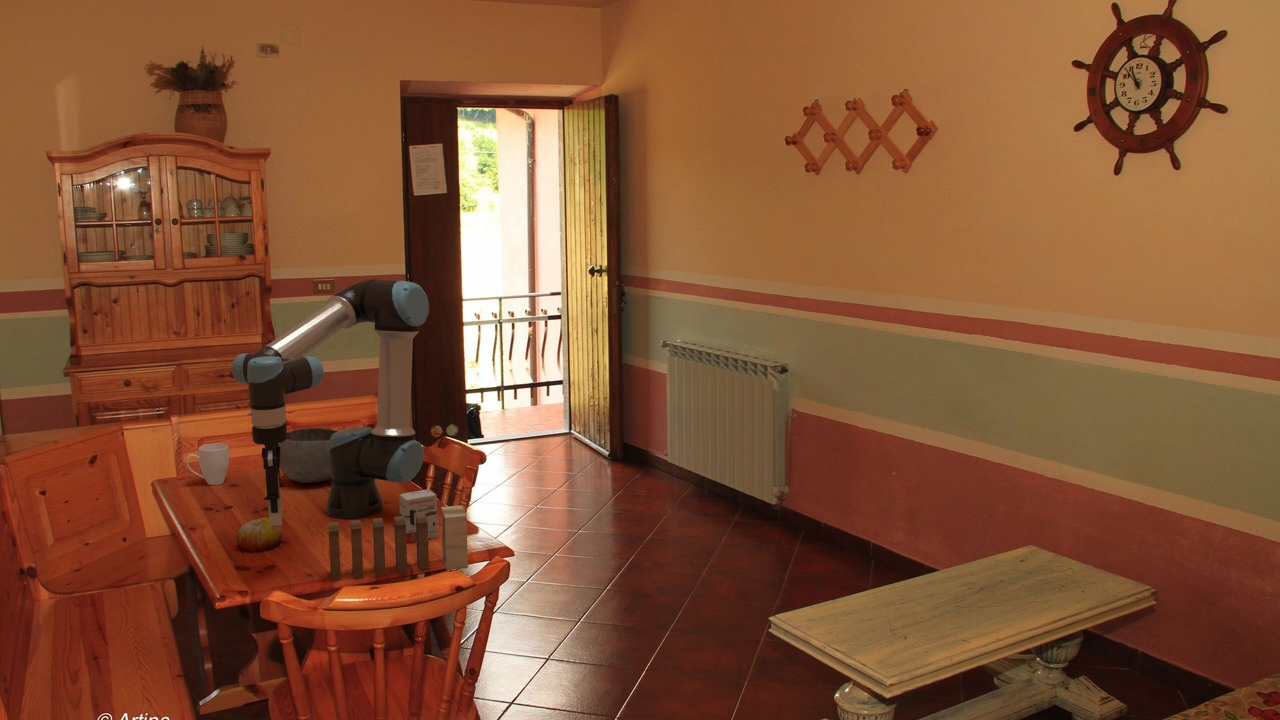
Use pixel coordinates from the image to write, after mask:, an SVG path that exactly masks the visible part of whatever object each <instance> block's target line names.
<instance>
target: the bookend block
mask: <svg viewBox="0 0 1280 720" xmlns="http://www.w3.org/2000/svg"><path fill="white" fill-rule="evenodd" d="M440 510H441V515H440V516H441V545H442V546H441V549H442V550H441V551H442V561H443V564H444V566H445V570H446V571H451V570H459V569H461V570H463V569H468V568H469V566H468V565H469V563H468V562H469V561H468V517H467V516H468V515H467V514H466V513H467V512H466V511H465V508H464V506H463V505H462V504H461V505H450V506H441V509H440Z"/></svg>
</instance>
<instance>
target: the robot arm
mask: <svg viewBox="0 0 1280 720" xmlns="http://www.w3.org/2000/svg"><path fill="white" fill-rule="evenodd" d="M428 299H429V298H428V296H427V294H426V292H425V290H424V289H423V287H422V286H420V285H419V284H418V283H415V282H412V281H408V280H392V279H391V280H387V279H386V280H385V279H375V278H374V279H373V278H372V279H371V278H370V279H363V280H361V281H357V282H355V283H352V284H351V285H349V286H346V287H345V288H343V289H340V290H339V291H338V292H336V293H335V294H333V295H331V296H330V297H329V298H328V299H326V302H325V305H324V306H323V307H321V308H320V309H318V310H316V311H315V312H313V313H312V314H310V315H309V316H308V317H306V318H305V319H303V320H302V321H301V322H299V323H297V324H295V326H293V327H292V328H290V329H288V330H287V331H286V332H284V333H282V334H281V335H280V336H278V337H277V338H275V339H274V340H272V341H271V342H270V343H267V345H265V346H264V347H262V348H261V349H259V350H257V351H256V352H254V353H252V352H247V353H240V354H238V355H236V357H235V358H234V360H233V362H232V364H231V373H232V375H233V378H234V379H235V381H236V382H238V383H240V384H244V385H248V386H247V387H248V397H249V398H248V399H249V407H250V411H248V412H247V416H249V417H250V416H251V418H250V419H251V424H252V427H251V436H252V437H251V438H252V442H253V443H254V444H256V445H263V446H264V447H262V449H261V459H262V460H263V464H262V465H263V469H264V470H265V484H266V486H265V487H266V496H265V497H263V498H264V501H267V511H268V512H267V513H268V518H269V526H276V525H283V515H284V511H283V510H284V509H283V496H282V488H283V487H285V483H284V482H281V480H282V479H281V473H280V471H281V469H280V452H281V450H280V447H278V443H281V442H284V441H285V440H286V439H287V432H288V429H287V428H288V426H287V424H286V422H287V410H286V407H287V406H286V395H289V394H293V393H297V392H301V391H305V390H310V389H311V388H315V387H317V386H318V385H320V384H321V383H322V381H323V380H324V376H325V374H324V372H325V371H324V367H323V366H324V365H323V364H322V362H321V361H320V360H319V359H318V358H317V357H314V356H312V355H311V356H310V355H309V353H311V352H313V350H315V349H317V348H318V347H319V346H321V345H322V344H323V343H325V342H327V341H328V340H329V339H331V338H332V337H333V336H335V335H336V334H337V333H339V332H341V331H342V330H343V329H351V328H353V327H354V326H355V325H357V324H362V323H374V326H373V327H374V332H375V333H376V334H377V335H378V336H379V360H378V362H379V363H378V364H379V365H378V388H377V389H378V390H377V391H378V392H377V393H378V394H377V421H376V422H377V425H376V426H375V427H374V428H373V427H371V426H359V427H358V426H357V427H350V428H346V429H342V430H337V431H338V432H335V433H334V434H332V436H331V438H330V460H331V476H332V478H331V486H330V490H329V494H328V498H327V500H326V504H325V505H326V506H325V509H326V514H327V515H328V516H330V517H333V518H337V519H346V520H347V519H349V520H350V519H360V518H366V517H369V516H373V515H376V514H378V513H380V512H381V511H382V510H383V508H384V505H383V504H384V503H383V498H382V495H381V492H380V491H379V490H380V489H379V488H378V486H377V483H376V480H381V481H386V482H389V483H402V484H403V483H408V482H410V481H411V480H413V479H415V477H416V476H417V474H418V473H419V472H420V470H421V468H422V465H423V462H424V457H425V452H424V448H423V447H422V443H420V442H419V441H417V440H416V431H415V430H414V428H413V427H411V400H412V398H411V397H412V376H413V375H412V373H413V371H412V370H413V347H414V346H413V345H414V343H413V341H414V338H415V337H416V336H417V335H418V334H419V332H420V326H422V325H424V324H425V322H426V321H427V318H429V317H428V316H429V312H430V303H429V300H428ZM308 355H309V356H308ZM278 474H279V485H278ZM279 486H280V495H279ZM280 500H281V503H280ZM281 513H282V516H281Z"/></svg>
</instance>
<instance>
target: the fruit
mask: <svg viewBox="0 0 1280 720" xmlns="http://www.w3.org/2000/svg"><path fill="white" fill-rule="evenodd" d="M282 538H283V533H282V529H281V530H274V531H271V526H269V517H265V516H264V517H260V518H257V519H251V520H248V521H247V522H246V523H245V524H242V525H241V526H240V528H239V529H238V531H237V532H236V537H235V539H236V542H237V546H239V547H241V548H242V550H243V551H247V552H251V553H252V552H264V551H268V550H271V549H274V548H276V547H277V546H279V545H280V544H281V542H282Z"/></svg>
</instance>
